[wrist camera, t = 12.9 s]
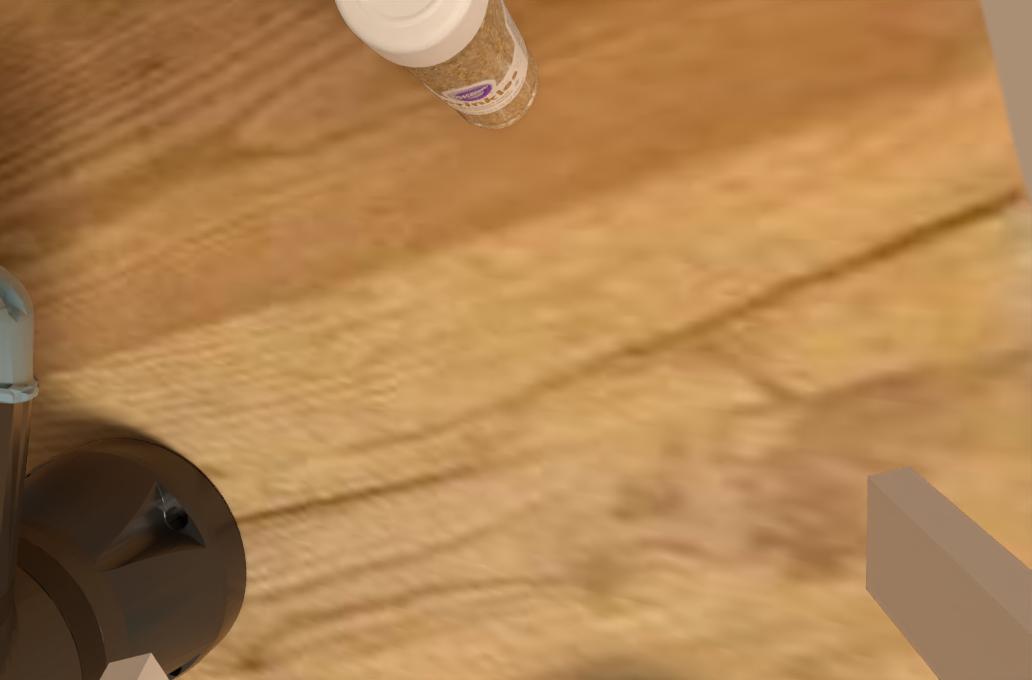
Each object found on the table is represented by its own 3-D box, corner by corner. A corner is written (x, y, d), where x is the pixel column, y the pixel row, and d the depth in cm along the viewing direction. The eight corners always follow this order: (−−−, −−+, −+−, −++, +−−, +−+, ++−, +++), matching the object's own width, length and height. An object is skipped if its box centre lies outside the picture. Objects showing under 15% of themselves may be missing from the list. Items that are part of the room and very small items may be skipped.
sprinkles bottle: (477, 147, 32) (370, 81, 18) (435, 65, 31) (297, -61, 18) (557, 100, 31) (504, -6, 17) (514, 14, 30) (427, -158, 17)
